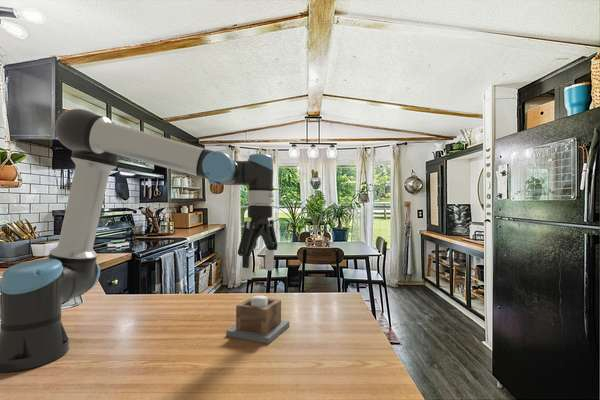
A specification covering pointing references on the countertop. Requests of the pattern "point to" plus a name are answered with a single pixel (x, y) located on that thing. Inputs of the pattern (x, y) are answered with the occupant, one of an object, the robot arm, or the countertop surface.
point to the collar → (258, 316)
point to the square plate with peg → (270, 336)
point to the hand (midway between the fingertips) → (258, 274)
